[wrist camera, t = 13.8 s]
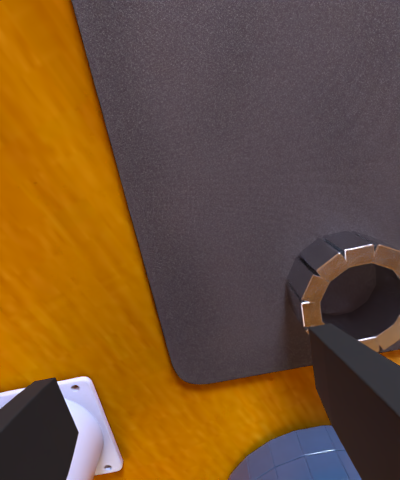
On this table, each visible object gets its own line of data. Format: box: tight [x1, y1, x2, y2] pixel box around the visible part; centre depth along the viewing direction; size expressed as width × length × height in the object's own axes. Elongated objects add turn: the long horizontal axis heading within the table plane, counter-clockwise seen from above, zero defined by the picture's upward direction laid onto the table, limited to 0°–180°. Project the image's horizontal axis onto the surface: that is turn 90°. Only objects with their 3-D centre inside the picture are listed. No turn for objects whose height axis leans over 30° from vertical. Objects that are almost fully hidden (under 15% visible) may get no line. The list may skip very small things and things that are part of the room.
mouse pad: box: [71, 0, 400, 384], centre depth 16 cm, size 25×21×1 cm
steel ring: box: [286, 231, 400, 352], centre depth 16 cm, size 6×6×3 cm
